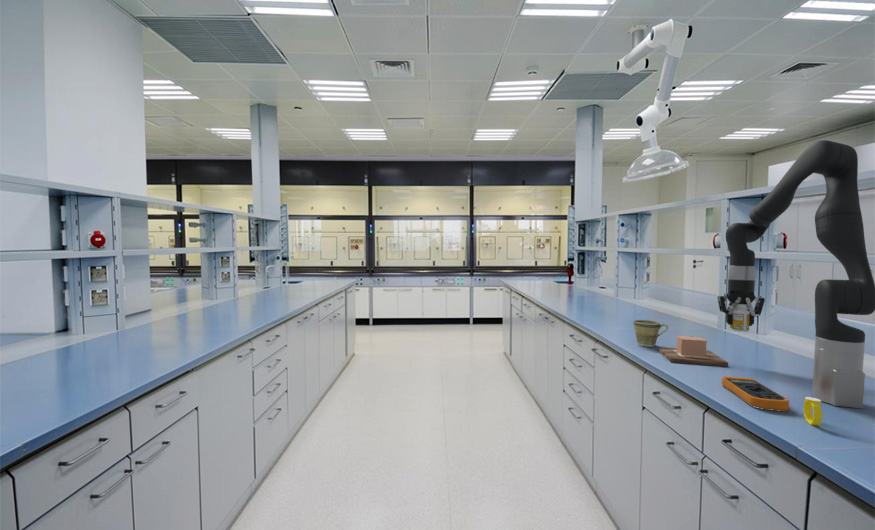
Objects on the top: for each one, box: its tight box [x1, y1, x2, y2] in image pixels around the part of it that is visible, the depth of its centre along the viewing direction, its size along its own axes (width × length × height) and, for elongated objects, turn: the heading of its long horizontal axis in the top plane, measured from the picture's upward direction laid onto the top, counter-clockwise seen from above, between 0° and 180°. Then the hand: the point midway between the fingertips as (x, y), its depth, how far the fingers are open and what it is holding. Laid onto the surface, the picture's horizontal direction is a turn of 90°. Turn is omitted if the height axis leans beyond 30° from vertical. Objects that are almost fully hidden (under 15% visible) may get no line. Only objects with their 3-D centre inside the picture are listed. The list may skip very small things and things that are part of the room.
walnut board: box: [657, 346, 729, 368], centre depth 143 cm, size 16×18×2 cm
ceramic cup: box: [633, 319, 669, 348], centre depth 161 cm, size 13×10×10 cm
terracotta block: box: [675, 335, 707, 357], centre depth 143 cm, size 6×8×6 cm
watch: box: [803, 396, 823, 427], centre depth 90 cm, size 6×3×6 cm, turn 153°
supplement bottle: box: [729, 304, 750, 333], centre depth 137 cm, size 5×5×10 cm
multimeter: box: [721, 375, 790, 412], centre depth 106 cm, size 9×18×3 cm, turn 166°
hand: (739, 324), depth 137 cm, fingers closed on supplement bottle, 5 cm apart
